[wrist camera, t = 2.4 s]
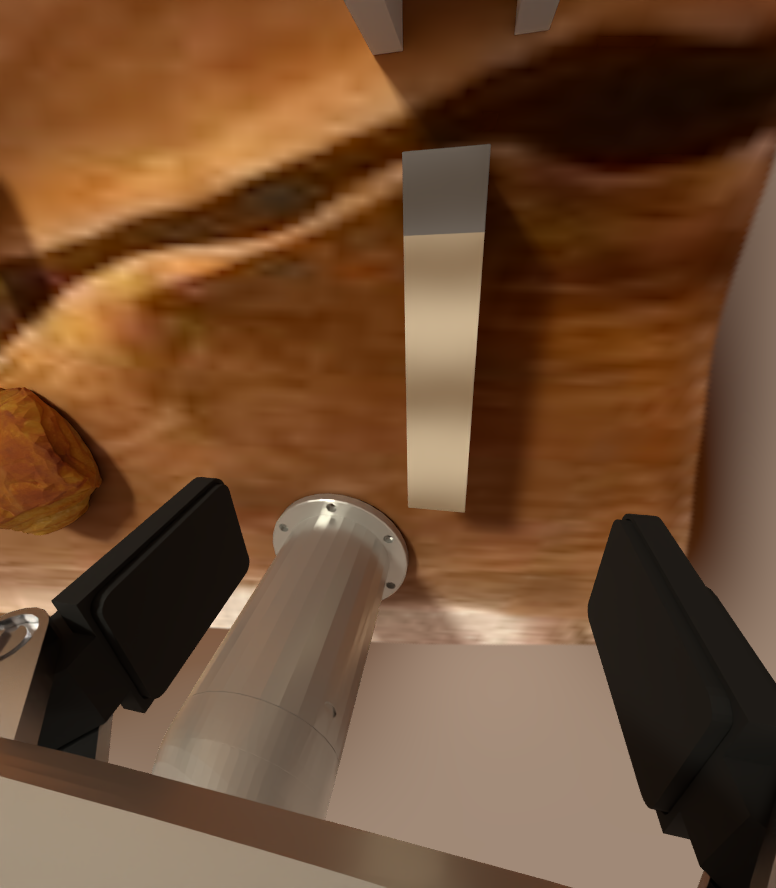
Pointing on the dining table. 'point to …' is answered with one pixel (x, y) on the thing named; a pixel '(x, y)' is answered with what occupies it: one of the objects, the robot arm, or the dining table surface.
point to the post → (382, 23)
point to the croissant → (41, 466)
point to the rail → (442, 315)
